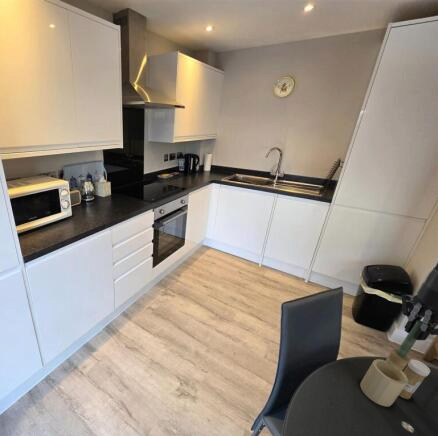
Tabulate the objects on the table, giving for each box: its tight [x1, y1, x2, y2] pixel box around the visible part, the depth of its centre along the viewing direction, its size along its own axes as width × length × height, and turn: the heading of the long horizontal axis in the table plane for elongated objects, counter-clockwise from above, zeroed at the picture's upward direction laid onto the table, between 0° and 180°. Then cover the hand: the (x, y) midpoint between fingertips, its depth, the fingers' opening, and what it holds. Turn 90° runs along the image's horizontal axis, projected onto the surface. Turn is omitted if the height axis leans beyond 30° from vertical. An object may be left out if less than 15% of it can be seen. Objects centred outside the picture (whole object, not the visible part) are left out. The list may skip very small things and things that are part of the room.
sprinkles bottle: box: [398, 359, 431, 400], centre depth 80 cm, size 5×5×13 cm
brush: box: [385, 320, 423, 372], centre depth 73 cm, size 4×4×18 cm
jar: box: [359, 358, 408, 407], centre depth 80 cm, size 8×8×11 cm
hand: (413, 335), depth 72 cm, fingers closed on brush, 2 cm apart
